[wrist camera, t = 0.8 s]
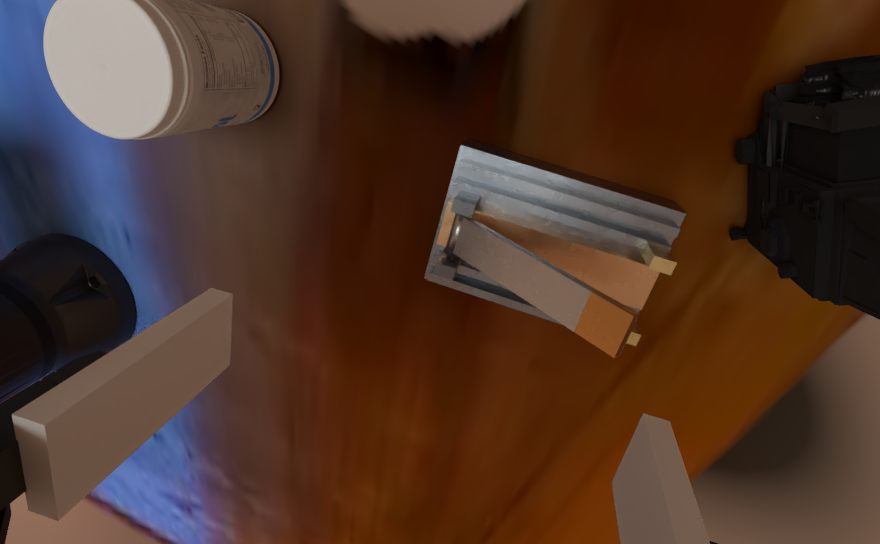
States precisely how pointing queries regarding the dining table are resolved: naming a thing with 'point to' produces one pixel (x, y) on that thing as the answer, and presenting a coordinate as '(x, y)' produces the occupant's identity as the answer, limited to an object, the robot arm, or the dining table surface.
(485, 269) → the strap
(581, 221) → the heatsink block
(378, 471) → the dining table surface
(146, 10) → the supplement tub
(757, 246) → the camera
